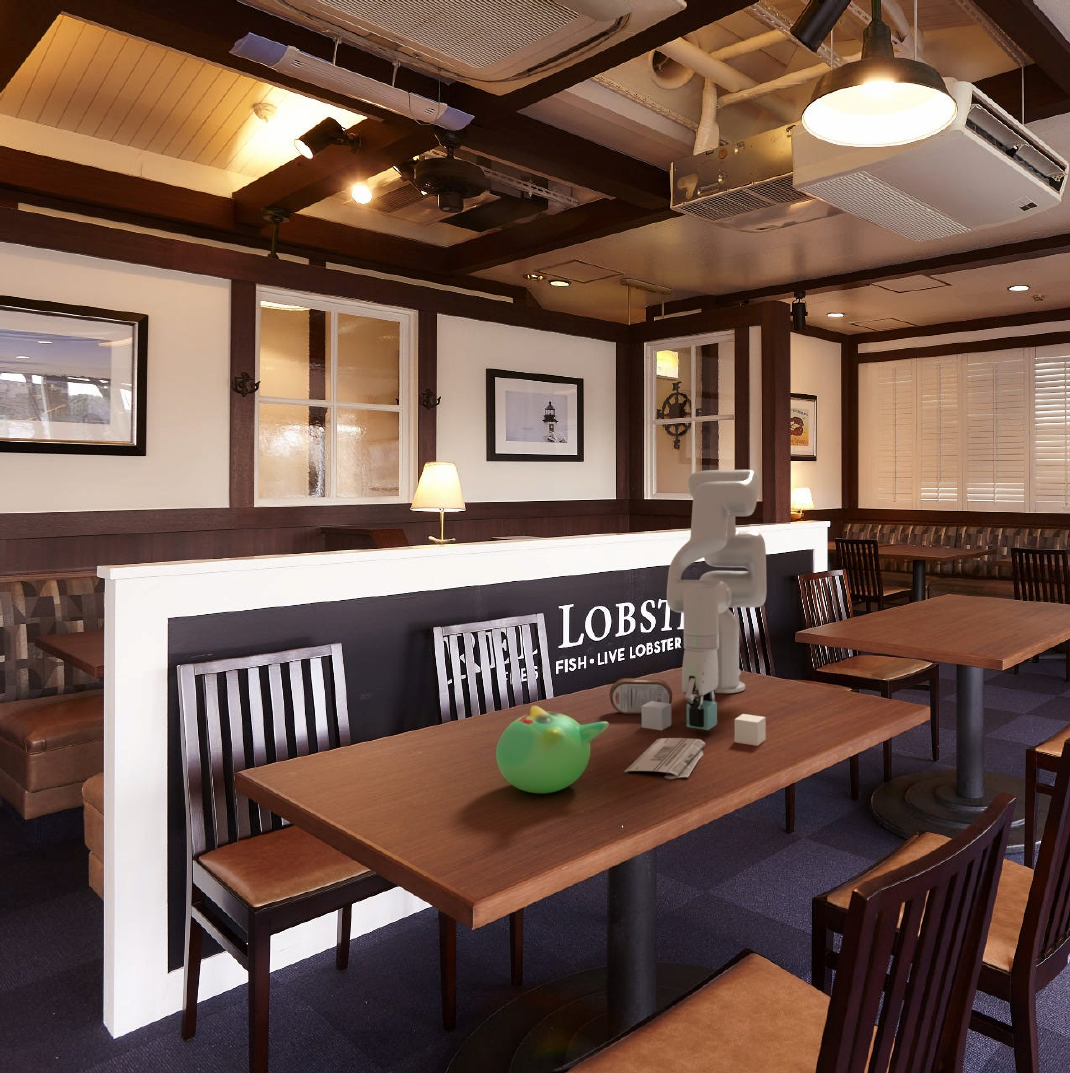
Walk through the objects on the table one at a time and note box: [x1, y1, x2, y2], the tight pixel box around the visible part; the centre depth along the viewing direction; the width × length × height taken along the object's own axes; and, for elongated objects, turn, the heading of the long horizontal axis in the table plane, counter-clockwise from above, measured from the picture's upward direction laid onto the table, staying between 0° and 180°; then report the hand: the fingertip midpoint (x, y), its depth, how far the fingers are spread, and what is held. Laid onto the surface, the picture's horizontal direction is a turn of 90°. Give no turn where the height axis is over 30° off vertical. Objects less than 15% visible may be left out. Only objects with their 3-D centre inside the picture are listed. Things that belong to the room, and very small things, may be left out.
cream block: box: [734, 713, 767, 747], centre depth 181 cm, size 5×5×5 cm
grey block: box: [641, 701, 672, 731], centre depth 193 cm, size 5×5×5 cm
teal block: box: [686, 698, 718, 731], centre depth 187 cm, size 5×5×5 cm
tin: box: [609, 677, 673, 715], centre depth 204 cm, size 15×3×8 cm, turn 84°
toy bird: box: [495, 705, 610, 794], centre depth 154 cm, size 18×17×15 cm
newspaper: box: [623, 737, 706, 780], centre depth 170 cm, size 23×12×2 cm, turn 155°
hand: (701, 722), depth 188 cm, fingers closed on teal block, 4 cm apart
